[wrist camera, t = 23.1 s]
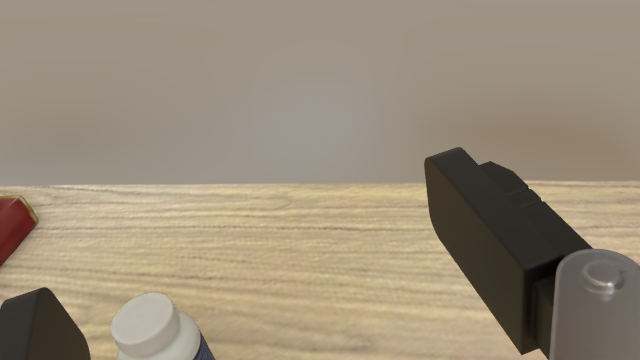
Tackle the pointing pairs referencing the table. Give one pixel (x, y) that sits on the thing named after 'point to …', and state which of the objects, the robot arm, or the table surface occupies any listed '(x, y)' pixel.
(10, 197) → the hardcover book
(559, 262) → the robot arm
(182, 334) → the pill bottle
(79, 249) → the table surface
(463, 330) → the table surface
